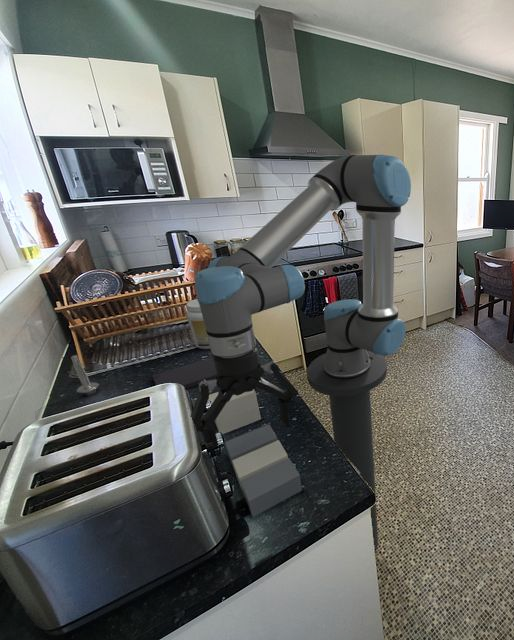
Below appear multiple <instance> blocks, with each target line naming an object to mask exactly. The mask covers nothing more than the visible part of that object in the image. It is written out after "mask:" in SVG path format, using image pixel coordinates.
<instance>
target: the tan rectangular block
mask: <svg viewBox="0 0 514 640" xmlns="http://www.w3.org/2000/svg"><path fill="white" fill-rule="evenodd" d="M288 458H289V456H288V453H287V452H286V450H285V448H284V446H283V444H282V443H281V441H280V440H279V439H278V440H277V441H275V442H273V443H271V444H268V445H266V446H264V447H262V448H259V449H257V450H255V451H252V452H250V453H248V454H246V455H243V456H241V457H239V458H237V459H234V460H232V463H233V466H234V469H233V471H234V470H235V471H234V473H235V476H236V479H237V481H238V484H239V487H240V489H241V491H242V493H243V489H242V486H241V482H240V481H242V480H244V479H246V478H248V477H251V476H253V475H255V474H257V473H259V472H261V471H263V470H265V469H267V468H269V467H271V466H273V465H276V464H278V463H280V462H282V461H284V460H286V459H288ZM233 466H232V467H233Z"/></svg>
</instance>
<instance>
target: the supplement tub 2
mask: <svg viewBox="0 0 514 640" xmlns="http://www.w3.org/2000/svg"><path fill="white" fill-rule="evenodd" d="M186 310H187V311H186V315H185V316H186V320H187V322H188V323H187V324H188V325H189V329H190V332H191V336H192V340H193V343H194V346H195V347H197V348H198V349H201V350H211V349H210V345H209V341H208V337H207V332H206V327H205V323H204V320H203V316H202V313H201V309H200V305H199V302H198V300H197V298H196V299H192V300H190V301H188V302H187V303H186Z"/></svg>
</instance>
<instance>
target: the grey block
mask: <svg viewBox="0 0 514 640" xmlns="http://www.w3.org/2000/svg"><path fill="white" fill-rule="evenodd" d="M277 440H279V439H278V436H277V435H276V433H275V431H274V429H273V428H272V426H271V425H270V424H269V423H268V424H266V425H263V426H261V427H258V428H255V429H253V430H251V431H248V432H246V433H244V434H241V435H239V436H236V437H234V438H231V439H229V440H226V441H224V445H225V449H226V453H227V456H228V459H229V462H230V464H231V466H232V469H233V471H234V472H235V470H234V466H233V463H232V460H234V459H237V458H239V457H241V456H243V455H246V454H248V453H250V452H252V451H255V450H257V449H259V448H262V447H264V446H266V445H268V444H271V443H273V442H275V441H277Z"/></svg>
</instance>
